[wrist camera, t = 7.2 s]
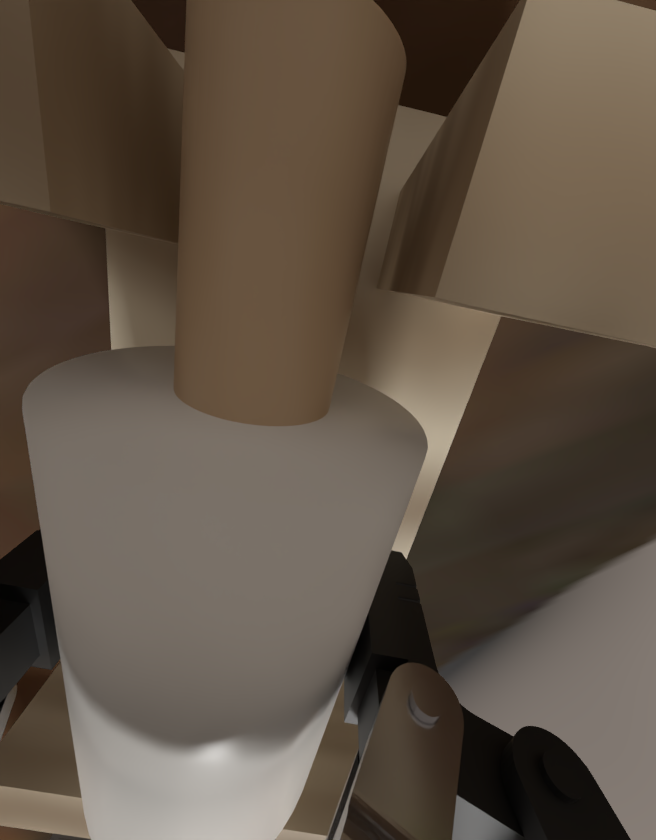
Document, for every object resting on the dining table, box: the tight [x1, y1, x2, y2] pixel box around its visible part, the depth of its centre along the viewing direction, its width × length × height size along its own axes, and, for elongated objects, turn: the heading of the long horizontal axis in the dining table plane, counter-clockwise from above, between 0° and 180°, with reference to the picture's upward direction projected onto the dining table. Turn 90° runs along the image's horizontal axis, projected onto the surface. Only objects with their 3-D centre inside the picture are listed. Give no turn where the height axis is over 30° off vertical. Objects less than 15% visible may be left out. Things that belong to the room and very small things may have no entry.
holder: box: [0, 0, 656, 840], centre depth 10 cm, size 22×12×8 cm, turn 168°
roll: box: [22, 0, 428, 840], centre depth 8 cm, size 19×6×6 cm, turn 168°
